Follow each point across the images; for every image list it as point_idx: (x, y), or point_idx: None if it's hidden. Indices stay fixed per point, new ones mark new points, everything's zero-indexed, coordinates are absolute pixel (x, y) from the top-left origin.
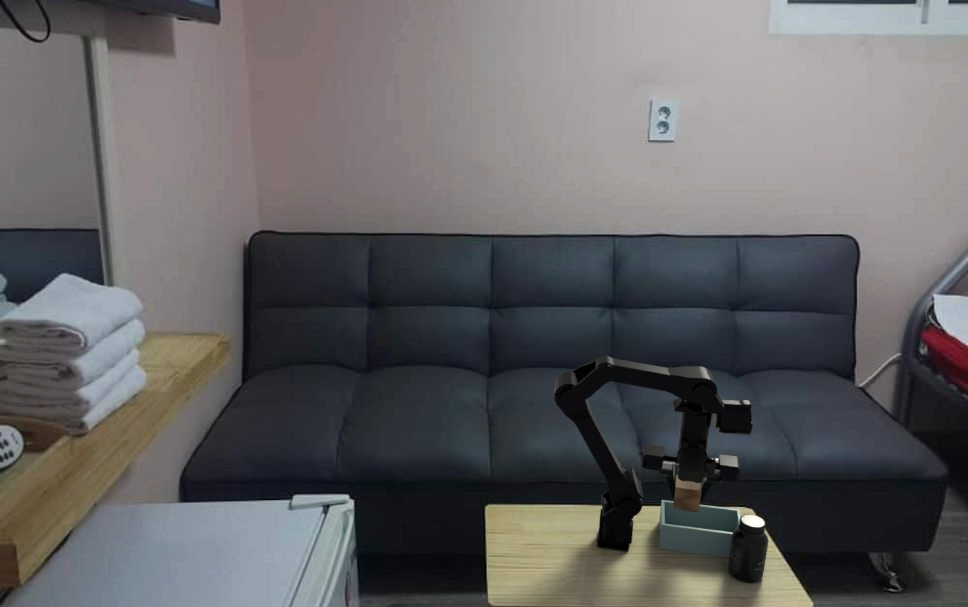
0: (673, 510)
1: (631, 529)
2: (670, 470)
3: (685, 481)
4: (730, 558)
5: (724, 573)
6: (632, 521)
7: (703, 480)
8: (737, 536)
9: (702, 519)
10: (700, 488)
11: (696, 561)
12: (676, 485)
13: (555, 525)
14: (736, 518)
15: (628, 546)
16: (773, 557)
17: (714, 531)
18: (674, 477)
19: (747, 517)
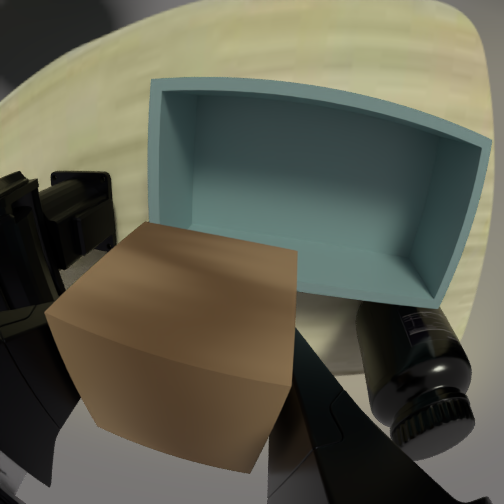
0: (217, 92)
1: (87, 253)
2: (20, 475)
3: (133, 403)
4: (361, 350)
5: (346, 315)
6: (78, 228)
7: (290, 441)
8: (377, 417)
9: (342, 108)
10: (247, 465)
11: None
12: (96, 419)
13: (3, 175)
14: (465, 156)
15: (111, 241)
16: (484, 248)
17: (348, 295)
18: (50, 369)
19: (433, 436)
